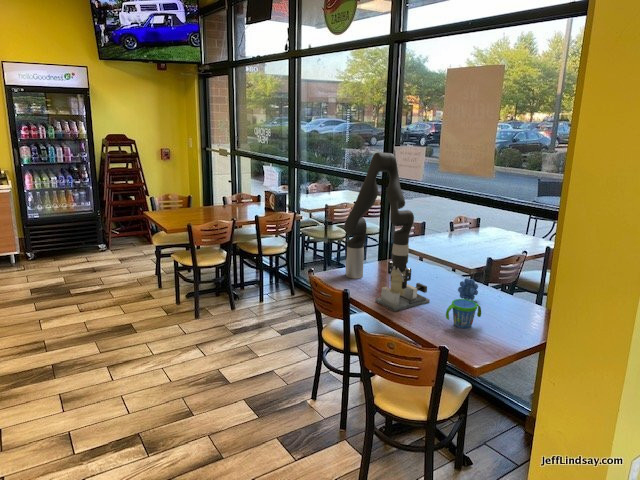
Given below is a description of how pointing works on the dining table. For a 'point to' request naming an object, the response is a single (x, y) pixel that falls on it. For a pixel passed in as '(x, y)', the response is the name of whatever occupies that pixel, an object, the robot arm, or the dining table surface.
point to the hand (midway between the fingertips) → (398, 285)
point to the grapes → (468, 289)
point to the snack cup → (463, 312)
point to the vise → (399, 300)
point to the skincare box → (397, 282)
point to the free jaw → (414, 291)
